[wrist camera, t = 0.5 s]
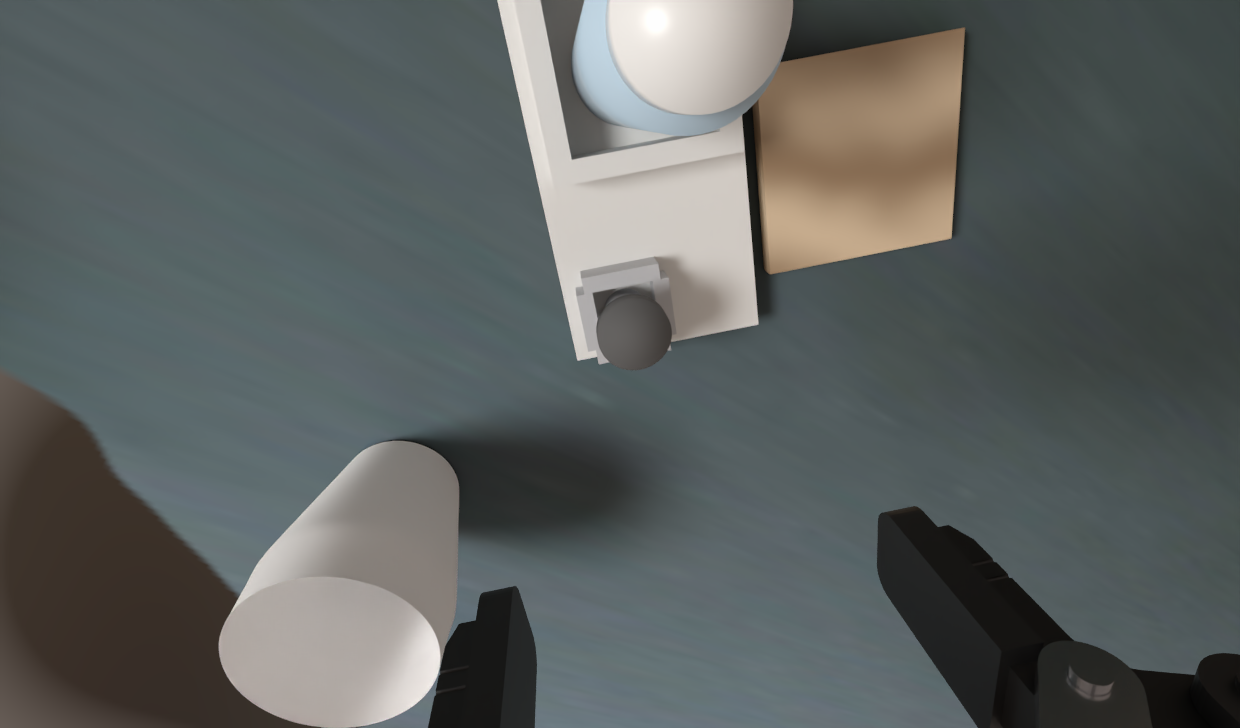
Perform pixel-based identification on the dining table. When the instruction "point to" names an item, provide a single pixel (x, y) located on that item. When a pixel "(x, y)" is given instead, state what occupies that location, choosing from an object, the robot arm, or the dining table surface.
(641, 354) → the plunger
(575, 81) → the bottle
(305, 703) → the cup
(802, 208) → the coaster
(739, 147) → the housing
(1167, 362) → the dining table surface
